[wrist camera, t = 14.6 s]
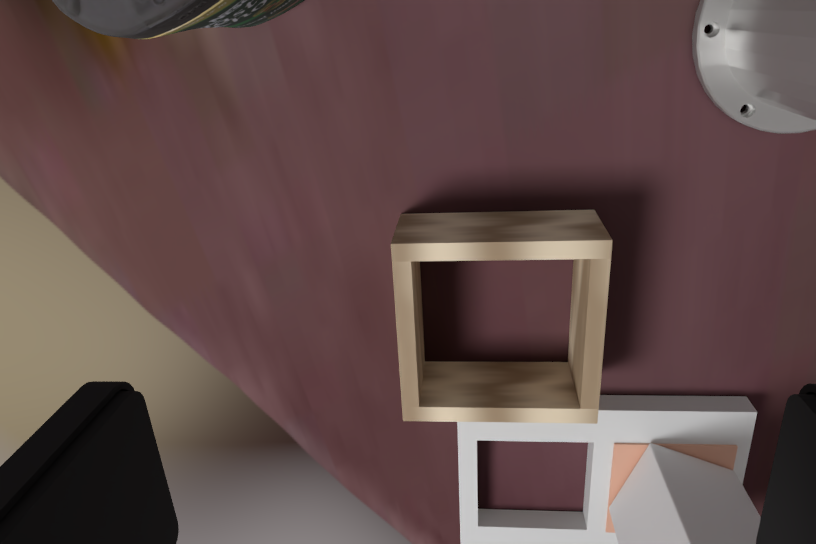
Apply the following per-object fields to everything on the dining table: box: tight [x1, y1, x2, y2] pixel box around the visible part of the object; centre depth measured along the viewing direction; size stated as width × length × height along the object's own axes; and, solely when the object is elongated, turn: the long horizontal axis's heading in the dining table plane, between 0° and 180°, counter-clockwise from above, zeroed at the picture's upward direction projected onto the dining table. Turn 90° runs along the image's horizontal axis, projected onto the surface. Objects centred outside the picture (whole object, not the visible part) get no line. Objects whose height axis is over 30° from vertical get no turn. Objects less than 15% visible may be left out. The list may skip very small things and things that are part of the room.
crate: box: [391, 210, 613, 424], centre depth 43 cm, size 13×13×6 cm
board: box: [457, 395, 757, 544], centre depth 50 cm, size 22×15×2 cm
